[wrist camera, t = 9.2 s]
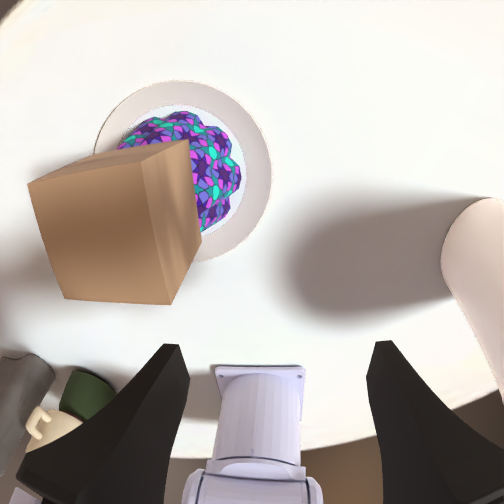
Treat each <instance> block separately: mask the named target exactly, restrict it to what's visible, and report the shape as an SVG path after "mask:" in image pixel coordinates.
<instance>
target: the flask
mask: <svg viewBox="0 0 504 504" xmlns="http://www.w3.org/2000/svg"><path fill="white" fill-rule="evenodd" d="M54 380H55V375H54V372H53V370H52V369H51V367H50V366H49V365H48V364H47V363H46V362H45V361H44V360H42V359H41V358H40V357H38V356H36V355H32V354H28V355H27V356H25V357H24V358H22V359H9V358H5V357H1V358H0V477H3V475H4V473H5V471H6V468H7V466H8V464H9V462H10V460H11V458H12V456H13V454H14V452H15V450H16V448H17V446H18V444H19V442H20V440H21V438H22V436H23V434H24V432H25V430H26V423H27V421H28V419H29V417H30V415H31V414H32V412H33V410H34V409H35V408H36V407H37V406H39V405H40V403H41V402H42V400H43V398H44V396H45V395H46V393H47V391H48V390H49V388H50V386H51V385H52V383H53V381H54Z"/></svg>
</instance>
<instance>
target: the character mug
mask: <svg viewBox="0 0 504 504" xmlns="http://www.w3.org/2000/svg"><path fill="white" fill-rule="evenodd" d="M115 396H116V395H115V392H114V391H113V390H112V388H111V387H110V386H109V385H108V384H107V383H105V382H104V381H102V380H101V379H99V378H97V377H95V376H92V375H90V374H88V373H84V372H80V371H72V374H71V376H70V378H69V380H68V382H67V384H66V387H65V390H64V393H63V395H62V398H61V401H60V404H59V411H58V410H48V411H47V412H46V411H45V410H44V409H43V408H42V407H40V406H37V407H36V408H35V409H34V410H33V412H32V414H31V415H30V417H29V419H28V421H27V423H26V429H27V430H28V432H29V433H30V434H32V438H31V440H30V442H29V444H28V446H27V448H26V451H25V452H26V453H27V452H30V451H32V450H35V449H37V448H39V447H42V446H44V445H46V444H48V443H50V442H52V441H54V440H56V439H58V438H60V437H62V436H64V435H65V434H67V433H69V432H70V431H72V430H73V429H75V428H76V427H78V426H79V425H81V424H82V423H84V422H85V421H87V420H88V419H89V418H91V417H92V416H93V415H95V414H96V413H97V412H98V411H99V410H101V409H102V408H103V407H104V406H105V405H106V404H108V403H109V402H110V401H111V400H112V399H113V398H114V397H115ZM40 417H41V418H40ZM39 419H40V420H39ZM38 421H39V422H38ZM37 423H38V424H37ZM36 424H37V426H36ZM35 427H36V428H35Z"/></svg>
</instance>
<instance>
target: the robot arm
mask: <svg viewBox="0 0 504 504" xmlns="http://www.w3.org/2000/svg"><path fill="white" fill-rule="evenodd" d="M215 375H216V379H217V383H218V387H219V391H220V394H221V398H222V405H221V410H220V416H219V421H218V427H217V432H216V438H215V443H214V449H213V454H212V460H208V461H207V466H206V470H205V469H197V470H196V471H195V472H194V473H192V474H191V475H190V476H189V477H188V479H187V482H186V485H185V488H184V492H183V497H182V502H181V504H323V496H322V491H321V487H320V486H319V484H318V483H317V482H316V481H315V480H314V479H313V478H312V477H305V467H300V421H301V417H302V407H303V396H304V384H305V368H303V367H226V366H218V367H216V368H215ZM366 381H367V389H368V397H369V403H370V407H371V412H372V416H373V420H374V424H375V429H376V433H377V438H378V442H379V447H380V452H381V459H382V472H383V504H503V503H504V498H503V495H504V449H502V448H500V447H498V446H497V445H495V444H494V443H492V442H491V441H489V440H487V439H486V438H484V437H483V436H481V435H480V434H479V433H477V432H476V431H475V430H474V429H472V428H471V427H470V426H468V425H467V424H466V423H464V422H463V421H462V420H461V419H460V418H459V417H458V416H456V415H455V414H454V413H453V412H452V411H451V410H450V409H449V408H448V407H447V406H446V405H445V404H444V403H443V402H442V401H441V400H440V399H439V398H438V397H437V395H436V394H435V393H434V392H433V391H432V390H431V389H430V388H429V387H428V385H427V384H426V383H425V382H424V381H423V379H422V378H421V377H420V376H419V375H418V373H417V372H416V371H415V370H414V369H413V367H412V366H411V365H410V363H409V362H408V361H407V360H406V358H405V357H404V356H403V354H402V353H401V352H400V351H399V349H398V348H397V347H396V345H395V344H394V343H393V342H392V341H391V340H389V341H378V342H376V343H375V347H374V351H373V354H372V358H371V362H370V365H369V369H368V372H367V376H366ZM189 383H190V377H189V374H188V371H187V368H186V365H185V362H184V359H183V356H182V353H181V350H180V347H179V344H163V345H162V346H161V347H160V348H159V349H158V350H157V352H156V353H155V354H154V355H153V356H152V357H151V359H150V360H149V361H148V362H147V363H146V364H145V365H144V367H143V368H142V369H141V370H140V371H139V372H138V373H137V374H136V375H135V376H134V378H133V379H132V380H131V381H130V382H129V383H128V384H127V385H126V386H125V387H124V388H123V389H122V390H121V391H120V392H119V393H118V394H117V395H116V396H115V397H114V398H113V399H112V400H111V401H110V402H109V403H108V404H106V405H105V406H104V407H103V408H102V409H101V410H99V411H98V412H97V413H96V414H95V415H93V416H92V417H91V418H89V419H88V420H87V421H85V422H84V423H82V424H81V425H79V426H78V427H76V428H75V429H73V430H72V431H70V432H69V433H67V434H65V435H64V436H62V437H60V438H58V439H56V440H54V441H52V442H50V443H48V444H46V445H44V446H42V447H39V448H37V449H35V450H32V451H30V452H27V453H26V455H25V457H24V459H23V461H22V463H21V465H20V468H19V470H18V472H17V474H16V479H17V480H18V481H20V482H21V483H22V484H24V485H25V486H27V487H28V488H30V489H31V490H33V491H34V492H36V493H37V494H39V495H40V496H42V497H43V500H42V502H41V501H39V500H37V499H36V498H34V497H32V496H30V495H29V494H27V493H26V492H24V491H23V490H21V489H19V488H18V487H16V488H15V490H14V493H13V495H12V498H11V500H10V503H9V504H163V502H164V493H165V484H166V478H167V471H168V465H169V459H170V455H171V451H172V447H173V444H174V440H175V437H176V434H177V431H178V427H179V424H180V421H181V418H182V414H183V411H184V408H185V404H186V401H187V395H188V389H189Z"/></svg>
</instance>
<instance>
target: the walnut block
mask: <svg viewBox="0 0 504 504" xmlns="http://www.w3.org/2000/svg"><path fill="white" fill-rule="evenodd" d="M27 185H28V189H29V193H30V197H31V201H32V205H33V209H34V212H35V216H36V219H37V223H38V226H39V230H40V233H41V236H42V239H43V242H44V245H45V248H46V251H47V254H48V257H49V260H50V263H51V265H52V268H53V271H54V273H55V276H56V278H57V281H58V284H59V286H60V288H61V291H62V293H63V296H64V298H65V299H71V300H84V301H98V302H114V303H132V304H154V305H171V304H172V302H173V300H174V298H175V296H176V293H177V291H178V289H179V287H180V285H181V283H182V281H183V279H184V277H185V275H186V273H187V271H188V269H189V267H190V265H191V263H192V261H193V259H194V257H195V255H196V253H197V251H198V249H199V247H200V245H201V243H202V239H201V232H200V225H199V218H198V211H197V204H196V197H195V189H194V181H193V173H192V165H191V157H190V148H189V139H184V140H176V141H168V142H161V143H154V144H148V145H141V146H135V147H129V148H124V149H118V150H113V151H108V152H103V153H98V154H94V155H91V156H89V157H86V158H84V159H81V160H79V161H76V162H74V163H72V164H69V165H67V166H65V167H62V168H60V169H58V170H56V171H53V172H51V173H49V174H47V175H45V176H43V177H41V178H38V179H36V180H34V181H32V182H30V183H28V184H27Z"/></svg>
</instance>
